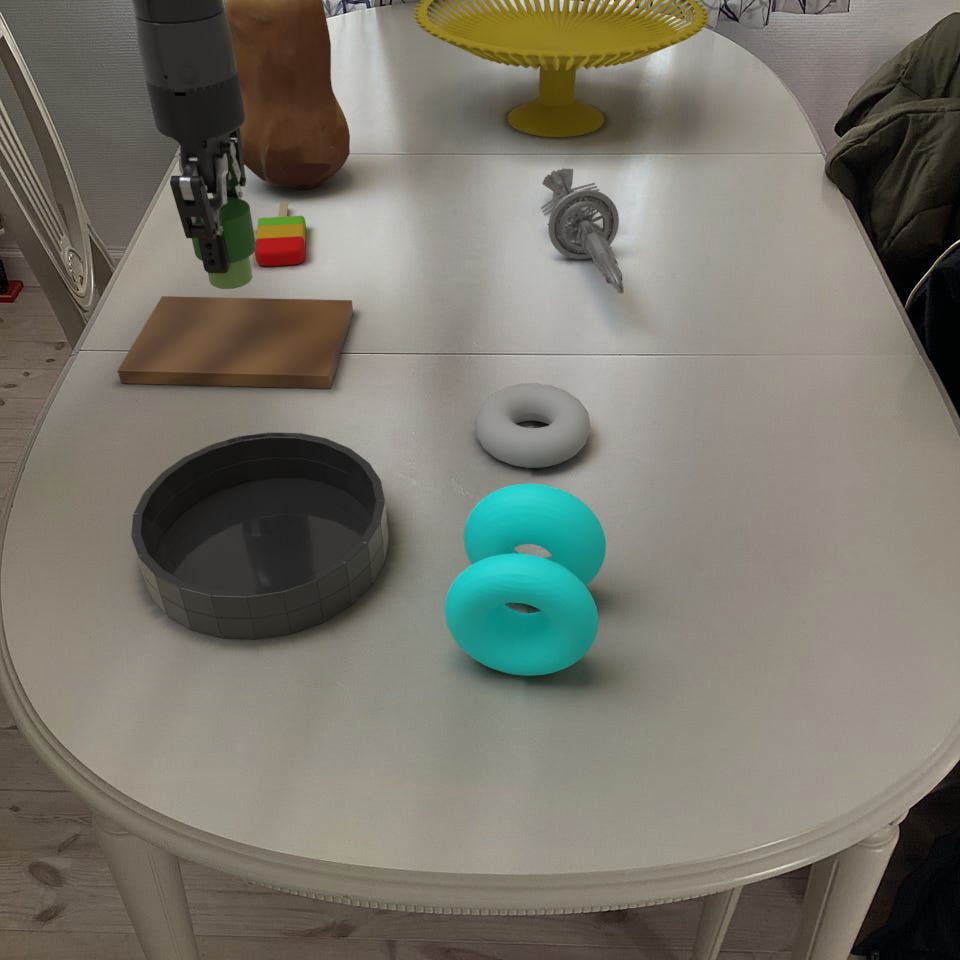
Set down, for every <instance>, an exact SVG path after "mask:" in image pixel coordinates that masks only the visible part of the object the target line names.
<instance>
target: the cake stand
mask: <svg viewBox="0 0 960 960" xmlns="http://www.w3.org/2000/svg"><path fill="white" fill-rule="evenodd" d="M451 1H452V2H453V3H455V4H456V5H457V6H458V7H459V8H457V6H456V5H454V4H453V3H452V2H451ZM451 1H449V0H441V1H440V0H419V2H420V3H419V4H418V3H417V4H416V6H417V7H413V8H412V9H413V10H414V12H412V14H413V15H414V16H412V18H413V19H415V20H414V22H415V23H417V25H416V26H418V27H420V28H421V29H422V31H424V32H426V33H427V34H428V35H430V36H432V37H434V38H436V39H439V40H441V41H443V42H445V43H448V44H449V45H452V46H454V47H455V48H458V49H461V50H463V51H465V52H467V53H470V54H472V55H473V56H476V57H478V58H481V59H483V60H487V61H489V62H491V63H493V62H494V63H496V64H500V65H501V64H503V65H506V66H513V67H515V68H518V67H520V66H521V67H523V68H525V69H528V68H529V67H531V68H532V69H533V70H538V69H539V82H538V84H539V85H538V97H537V98H535V99H533V100H530V101H528V102H525V103H524V104H522V105H520V106H517V107H515V108H514V109H512V110H511V111H510V112H509V114H508V116H507V121H508V123H509V125H510V126H511V127H513V128H514V129H515V130H517V131H519V132H521V133H525V134H528V135H531V136H537V137H546V138H571V137H578V136H583V135H587V134H590V133H593V132H595V131H597V130H599V129H600V128H601V127H602V126H603V124H604V122H605V117H604V115H603V114H602V112H601V111H599V110H598V109H597V108H594V107H593V106H591V105H590V104H588V103H587V104H586V103H585V102H583V101H581V100H578V99H577V98H575V97H576V96H575V93H576V76H577V71H579V70H580V69H582V68H584V69H585V70H589V69H592V68H595V70H596V69H600V68H602V67H604V68H608V67H611V66H614V67H616V66H618V65H620V64H621V65H624V64H626V63H631V62H633V61H637V60H639V59H642V58H644V57H648V56H649V55H652V54H655V53H657V52H659V51H662V50H664V49H668V48H669V47H672V46H674V45H677V44H680V43H682V42H684V41H687V40H689V39H691V37H693V36H696V35H698V33H699V32H702V31H703V30H704V29H703V28H705V27H707V26H708V25H707V24H709V23H710V22H711V21H710V20H709V19H710V18H711V16H709V15H710V12H708V11H707V10H708V8H705V7H704V6H705V4H703V3H699V2H700V0H678V1H677V0H668V1H667V2H666V3H664V4H663V5H662V6H661V7H659V6H660V5H661V4H662V3H663V2H665V1H666V0H657V1H656V2H655V3H654V4H652V3H653V2H654V0H646V1H645V2H644V3H643V5H641V3H642V2H643V1H644V0H635V2H634V3H633V4H631V5H630V3H631V2H632V1H633V0H625V1H624V2H623V3H622V4H621V5H620V7H618V6H619V4H620V3H621V2H622V0H614V2H613V3H612V4H611V6H610V7H609V5H610V2H611V1H612V0H604V1H603V3H602V5H601V6H600V7H599V5H600V2H601V0H594V1H593V3H592V5H591V6H590V8H589V5H590V3H591V0H583V3H582V5H581V8H580V9H579V7H580V1H581V0H573V3H572V7H571V9H570V1H571V0H563V5H562V8H561V2H560V1H561V0H553V8H551V1H550V0H543V7H542V5H541V2H540V1H541V0H533V3H534V4H533V5H534V7H533V5H532V3H531V1H530V0H523V3H524V6H523V4H522V3H521V1H520V0H513V2H514V4H515V6H514V5H513V4H512V2H511V1H510V0H503V3H504V4H505V6H506V7H505V6H504V5H503V3H502V2H501V1H500V0H493V2H494V3H495V5H496V6H495V5H494V4H493V3H492V2H491V1H490V0H482V2H483V3H484V4H485V5H486V6H487V7H488V8H487V7H486V6H485V5H484V4H483V3H482V2H481V1H480V0H472V1H473V2H474V3H475V4H476V6H475V5H474V4H473V3H472V2H471V1H470V0H462V2H463V3H465V4H466V6H467V7H466V6H465V5H464V4H463V3H461V1H459V0H451ZM676 1H677V2H676ZM675 2H676V3H675ZM686 2H687V3H686ZM443 3H444V4H446V5H447V6H448V7H449V8H448V7H447V6H446V5H444V4H443ZM673 3H675V4H674V5H672V4H673ZM435 4H436V5H437V6H438V7H437V6H436V5H435ZM650 4H652V6H650V7H649V5H650ZM683 4H684V5H683ZM629 5H630V6H629ZM639 5H641V6H640V7H638V6H639ZM670 5H672V6H671V7H669V6H670ZM681 5H683V6H682V7H680V6H681ZM477 6H478V7H479V8H478V7H477ZM628 6H629V7H628ZM429 7H430V8H429ZM439 7H440V8H441V9H440V8H439ZM598 7H599V8H598ZM627 7H628V8H627ZM637 7H638V8H637ZM647 7H649V8H647ZM657 7H659V8H658V9H656V8H657ZM668 7H669V8H668ZM678 7H680V8H679V9H677V8H678ZM450 8H451V9H452V10H453V11H452V10H451V9H450ZM636 8H637V9H636ZM646 8H647V9H646ZM666 8H668V9H667V10H666V11H664V10H665V9H666ZM687 8H688V9H687ZM442 9H443V10H444V11H446V12H444V11H443V10H442ZM460 9H461V10H460ZM470 9H471V10H470ZM635 9H636V10H635ZM645 9H646V10H645ZM655 9H656V10H655ZM675 9H677V10H676V11H674V10H675ZM462 10H463V11H462ZM654 10H655V11H654ZM663 11H664V12H663ZM673 11H674V12H673ZM682 11H684V12H682ZM693 11H694V12H693ZM661 12H662V13H661ZM671 12H673V13H671ZM681 12H682V13H681ZM691 12H692V13H691ZM447 13H449V14H447ZM650 13H651V14H650ZM670 13H671V14H670ZM689 13H691V14H689ZM668 14H670V15H668ZM678 14H679V15H678ZM688 14H689V15H688ZM433 15H434V16H433ZM667 15H668V16H667ZM676 15H677V16H676ZM686 15H687V16H686ZM685 16H686V17H685ZM673 17H674V18H673ZM681 18H682V19H681ZM689 23H690V24H689Z"/></svg>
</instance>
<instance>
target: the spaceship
mask: <svg viewBox="0 0 960 960" xmlns="http://www.w3.org/2000/svg"><path fill="white" fill-rule="evenodd" d="M573 177H574V168H561V169H557V170H552V171H551V172H550V174H549V173H548V174H547V175H546V176H544V179H543V181H542V183H541V184H542V185H543V186H545V188H547V189H548V190H550V191H552V199H551V200H550V201H548V202H547V203H545V204H544V205H542V206H541V207H540V209H541V210H542V213H544V216H545V217H546V216H548V215H549V214H550V216H549V219H548V223H547V226H548V227H547V228H548V229H547V230H548V237H549V239H550V242H551V244H552V246H553V247H554V248H555V249H556V251H558V253H560V254H561V255H563V256H564V257H566V258H569V259H574V260H587V259H590V258H591V259H592V260H593V263H594V265H595V267H596V269H597V270H598V271H599V273H600V274H601V275H602V277H603V278H604V279H605V281H606V283H607V284H608V285H610V286H612V287H613V289H614V290H615V291H616V292H617V293H618V294H619V295H622V294H624V284H623V280H624V279H623V274H622V271H621V269H620V267H619V266H618V265H619V263H618V261H617V259H616V256H615V254H614V251H613V247H612V246H611V244H613V242H614V240H615V238H616V236H617V233H618V231H619V227H620V215H619V211H618V209H617V206H616V205H615V203H614V202H613V200H612V199H611V198H610V197H609V196H608V195H606V194H605V193H603V192H601V191H600V189H599V188H598V186H597V185H596V182H593V183H588V184H585V185H580V186H577V187H573ZM572 187H573V188H572ZM583 208H584V209H583ZM598 213H599V214H600V215H599V216H596V217H595V215H597V214H598ZM600 220H602V227H601V226H600V225H599V224H597V223H596V222H597V221H600ZM566 229H568V230H566ZM574 232H577V234H576V238H575V240H574V241H571V239H570V238H569V237H568V235H570V234H571V233H574Z"/></svg>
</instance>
